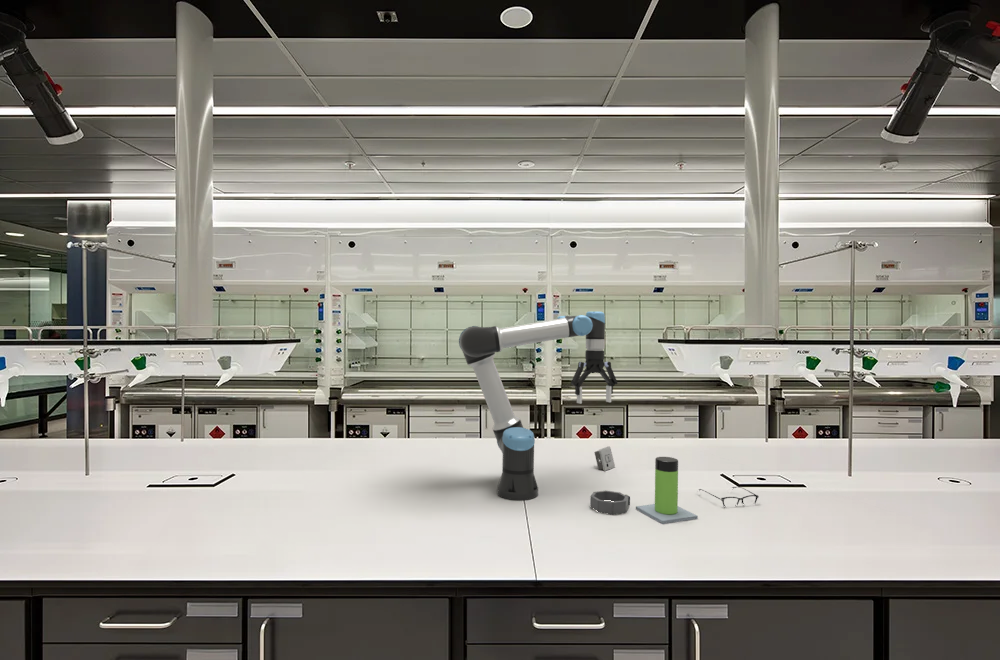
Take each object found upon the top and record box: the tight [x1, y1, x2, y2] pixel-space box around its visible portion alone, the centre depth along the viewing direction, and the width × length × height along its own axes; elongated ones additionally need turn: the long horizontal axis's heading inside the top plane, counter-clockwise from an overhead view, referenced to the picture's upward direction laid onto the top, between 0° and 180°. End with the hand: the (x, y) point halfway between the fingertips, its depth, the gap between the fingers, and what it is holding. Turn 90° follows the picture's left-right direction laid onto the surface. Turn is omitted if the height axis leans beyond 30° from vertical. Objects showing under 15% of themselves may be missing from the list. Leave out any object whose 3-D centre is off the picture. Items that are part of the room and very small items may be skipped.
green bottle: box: [654, 456, 679, 514], centre depth 174 cm, size 7×7×17 cm
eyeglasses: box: [698, 486, 759, 507], centre depth 190 cm, size 16×16×4 cm
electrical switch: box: [593, 446, 616, 472], centre depth 230 cm, size 9×5×9 cm, turn 141°
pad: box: [635, 503, 699, 525], centre depth 174 cm, size 14×14×1 cm
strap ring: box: [589, 490, 631, 515], centre depth 179 cm, size 14×12×4 cm
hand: (594, 402), depth 210 cm, fingers open, 13 cm apart
